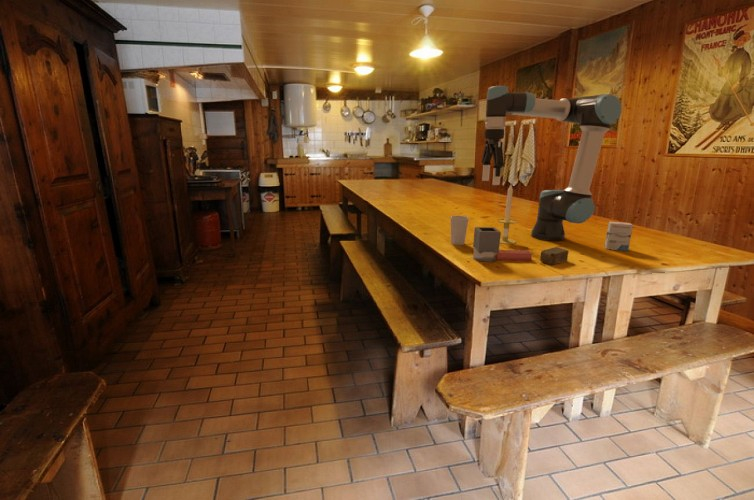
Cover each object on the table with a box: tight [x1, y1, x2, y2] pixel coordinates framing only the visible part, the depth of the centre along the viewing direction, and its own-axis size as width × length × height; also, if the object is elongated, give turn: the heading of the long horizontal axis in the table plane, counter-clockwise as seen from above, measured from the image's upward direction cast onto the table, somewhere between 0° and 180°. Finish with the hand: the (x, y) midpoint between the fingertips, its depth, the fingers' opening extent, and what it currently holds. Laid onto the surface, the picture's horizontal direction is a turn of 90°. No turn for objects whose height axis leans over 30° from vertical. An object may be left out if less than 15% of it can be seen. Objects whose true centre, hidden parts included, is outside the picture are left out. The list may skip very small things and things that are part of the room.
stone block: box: [539, 246, 569, 266], centre depth 157 cm, size 6×12×5 cm, turn 126°
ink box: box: [604, 221, 634, 252], centre depth 175 cm, size 8×5×12 cm, turn 71°
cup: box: [450, 215, 470, 246], centre depth 180 cm, size 8×8×12 cm
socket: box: [472, 226, 502, 252], centre depth 158 cm, size 8×8×8 cm
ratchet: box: [472, 247, 533, 263], centre depth 159 cm, size 22×9×8 cm, turn 91°
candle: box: [497, 184, 518, 245], centre depth 182 cm, size 10×10×27 cm
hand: (490, 182), depth 163 cm, fingers open, 13 cm apart
